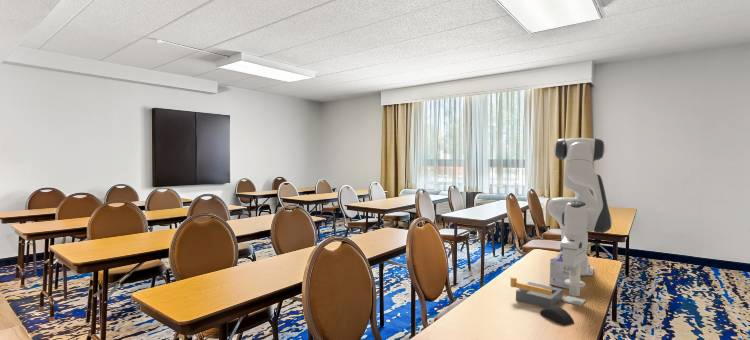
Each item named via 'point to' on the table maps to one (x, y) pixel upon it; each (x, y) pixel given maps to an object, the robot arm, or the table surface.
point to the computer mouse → (557, 315)
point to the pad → (574, 300)
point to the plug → (575, 282)
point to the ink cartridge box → (558, 272)
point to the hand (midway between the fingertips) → (574, 273)
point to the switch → (540, 296)
